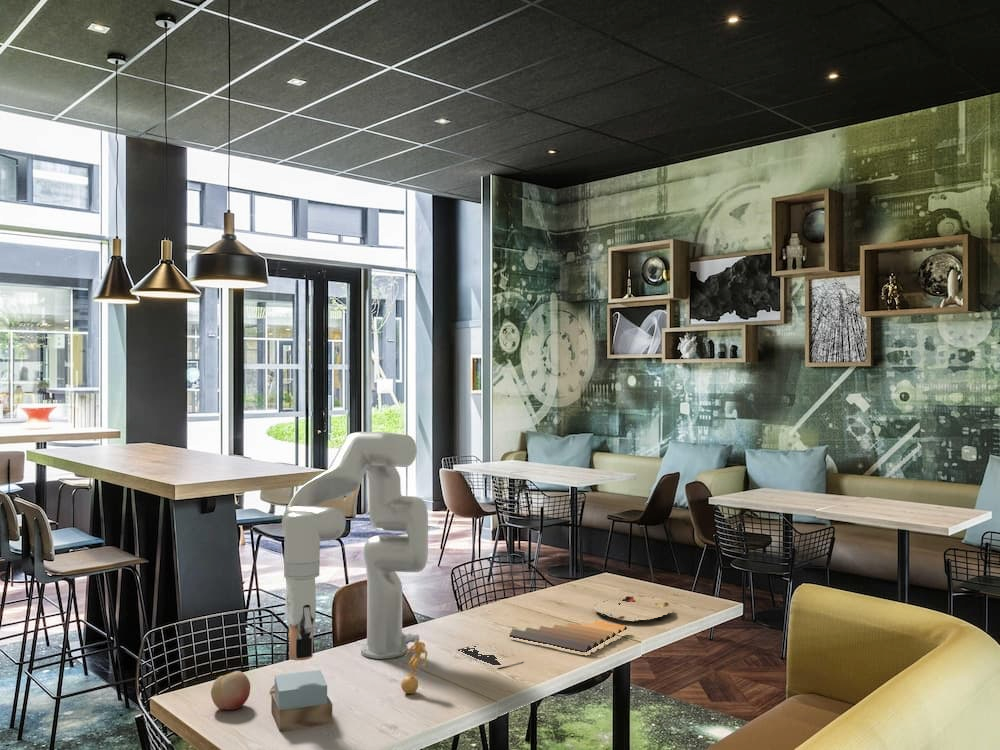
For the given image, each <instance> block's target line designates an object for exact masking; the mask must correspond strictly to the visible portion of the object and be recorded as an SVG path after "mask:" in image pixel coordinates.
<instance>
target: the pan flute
mask: <svg viewBox="0 0 1000 750" xmlns="http://www.w3.org/2000/svg"><path fill="white" fill-rule="evenodd" d="M627 628H628V627H627V626H625V625H622V624H621V625H620V624H616V623H610V622H606V621H605V622H604V621H600V620H594V622H593V623H590V622H586V621H585V622H584V621H581V622H580V624H574V623H570V622H569V623H567V626H565V625H559V624H554V625H553V627H547V626H543V625H541V626H540V627H539V629H536V628H533V627H526V628H525V630H521V629H517V628H512V630H511V632H510V633H509V638H510V637H513V638H519V639H523V640H528V641H533V642H538V643H543V644H549V645H553V646H557V647H561V648H565V649H570V650H575V651H580V652H587V651H589V650H591V649H592V648H594V647H596V646H598V645H599V644H601V643H603V642H605V641H606V640H608V639H610V638H612V637H614V636H615V635H616V634H618V633H620V632H622V631H624V630H626V629H627Z"/></svg>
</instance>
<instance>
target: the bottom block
mask: <svg viewBox="0 0 1000 750" xmlns="http://www.w3.org/2000/svg"><path fill="white" fill-rule="evenodd" d="M270 695H271V697H270V698H271V703H270V704H271V705H270V706H271V709H270V711H271V712H270V713H271V715H272V717H273V720H274V723H275V724H276V727H277V729H278V731H279V733H282V732H287V731H292V730H298V729H305V728H310V727H317V726H323V725H328V724H333V703H332V701H331V699H330V697H329V696H328V695H327V704H324V705H317V706H309V707H302V708H295V709H288V710H280V711H279V709H278V705H277V701H276V697H275V694H270Z"/></svg>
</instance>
